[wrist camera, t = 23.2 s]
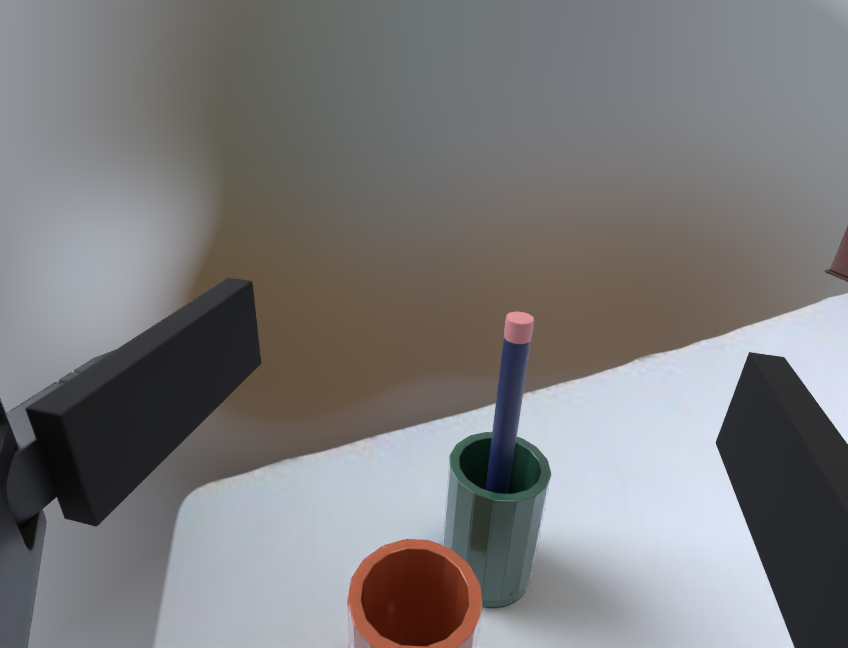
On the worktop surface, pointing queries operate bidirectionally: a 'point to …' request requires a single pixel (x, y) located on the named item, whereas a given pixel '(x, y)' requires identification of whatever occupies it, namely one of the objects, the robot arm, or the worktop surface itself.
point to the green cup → (496, 516)
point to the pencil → (509, 400)
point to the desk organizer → (841, 260)
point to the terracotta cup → (414, 598)
